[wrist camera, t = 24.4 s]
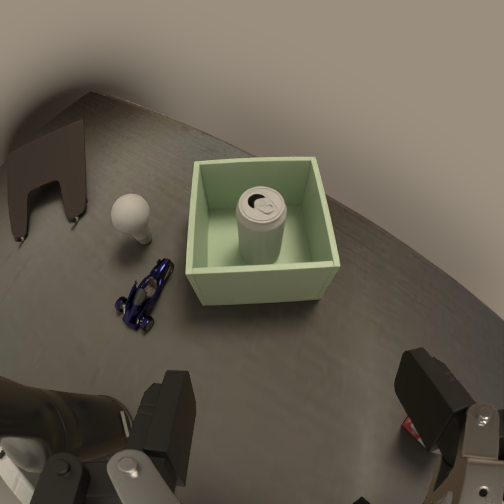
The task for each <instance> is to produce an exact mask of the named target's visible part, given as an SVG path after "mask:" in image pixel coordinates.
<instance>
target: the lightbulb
mask: <svg viewBox="0 0 504 504" xmlns="http://www.w3.org/2000/svg"><path fill="white" fill-rule="evenodd" d="M111 219H112V222H113V224H114V226H115V228H116V229H117V230H119V231H120V232H122V233H124V234H128V235H132V236H133V237H134V238H135V239H137V240H138V242H139V243H140V244H143V245H145V244H148V243H149V242H150V241H151V239H152V235H151V233H150V228H149V225H148V222H149V219H150V208H149V205H148V203H147V202H146V201H145V200H144V199H143V198H142V197H141V196H139V195H136V194H126V195H123V196H121V197H120V198H119V199H117V201H116V202H115V203H114V205H113V207H112V211H111Z"/></svg>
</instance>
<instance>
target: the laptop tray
mask: <svg viewBox="0 0 504 504" xmlns="http://www.w3.org/2000/svg"><path fill="white" fill-rule="evenodd" d="M53 181H58V182H59V183H60V187H61V193H62V199H63V203H64V207H65V211H66V214H67V217H68V218H69V220H70V221H71V222H74V223H76V222H78V216H79V215H80V214H82V213H83V211H84V210H85V207H86V203H87V200H86V163H85V139H84V119H81V120H78V121H76V122H73V123H71V124H69V125H66V126H64V127H62V128H59V129H57V130H55V131H53V132H50V133H48V134H46V135H44V136H42V137H40V138H38V139H36V140H34V141H32V142H30V143H28V144H26V145H24V146H22V147H20V148H18V149H17V150H15V151H13V152H11V153H9V157H8V177H7V186H8V207H9V216H10V223H11V229H12V233H13V235H14V236H15V237H16V238H15V241H17V242H23V241H24V236H25V235H26V234H27V217H28V196H29V193H30V192H31V191H32V190H34V189H36V188H38V187H40V188H45V187H46V186H48V185H49V184H50V183H52V182H53ZM19 237H21V238H19Z"/></svg>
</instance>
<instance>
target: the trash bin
mask: <svg viewBox="0 0 504 504" xmlns="http://www.w3.org/2000/svg"><path fill="white" fill-rule="evenodd" d="M258 186H264V187H269V188H272V189H274V190H276V191H277V192H279V193H280V194H281V196H282V197H283V199H284V203H285V205H286V208H287V214H286V221H285V227H284V233H283V239H282V245H281V251H280V254H279V256H278V258H277V259H276V260H275V261H274V262H272V263H271V264H266V265H252V264H250V263H248V262H247V261H246V260H244V258H243V257H242V255H241V253H240V249H239V238H238V228H237V217H236V206H237V204H238V202H239V199H240V197H241V195H242V194H243V193H244V192H245V191H247V190H248V189H250V188H253V187H258ZM339 268H340V261H339V256H338V251H337V246H336V241H335V236H334V231H333V227H332V222H331V218H330V213H329V209H328V205H327V201H326V197H325V192H324V188H323V185H322V180H321V177H320V173H319V169H318V165H317V161H316V158H315V157H263V158H239V159H222V160H208V161H195V162H194V171H193V180H192V190H191V201H190V212H189V225H188V238H187V254H186V272H185V274H186V276H187V278H188V280H189V282H190V284H191V285H192V287H193V289H194V291H195V293H196V295H197V296H198V298H199V300H200V302H201V304H202V305H203V306H207V305H235V304H257V303H275V302H290V301H305V300H318V299H321V297H322V296H323V294H324V292H325V291H326V289H327V288H328V286H329V284H330V283H331V281H332V280H333V278H334V276H335V275H336V273H337V271H338V270H339Z"/></svg>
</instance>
